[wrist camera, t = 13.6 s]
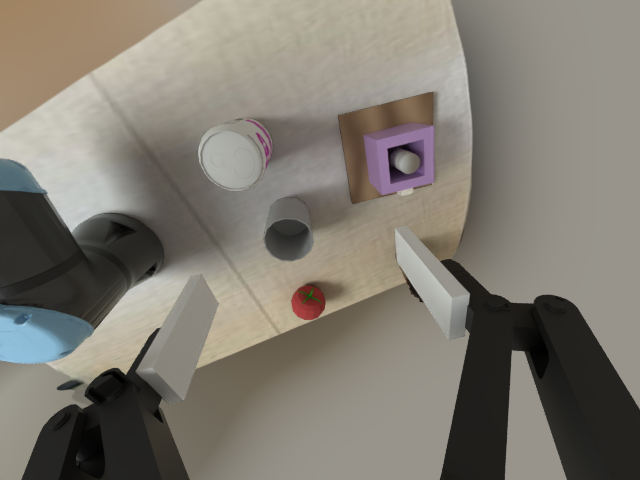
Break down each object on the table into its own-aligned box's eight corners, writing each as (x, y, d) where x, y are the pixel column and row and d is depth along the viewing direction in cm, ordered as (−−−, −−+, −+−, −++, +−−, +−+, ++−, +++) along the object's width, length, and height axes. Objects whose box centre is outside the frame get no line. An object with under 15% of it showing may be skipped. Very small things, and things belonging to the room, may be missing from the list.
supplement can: (274, 121, 41) (266, 130, 28) (271, 170, 45) (263, 198, 32) (223, 113, 40) (191, 119, 27) (225, 165, 44) (197, 191, 31)
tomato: (309, 332, 55) (315, 312, 50) (282, 312, 57) (286, 291, 53) (328, 309, 60) (335, 290, 56) (303, 292, 63) (308, 272, 58)
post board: (351, 201, 50) (364, 223, 41) (337, 115, 42) (350, 118, 33) (429, 183, 49) (459, 200, 41) (429, 92, 42) (467, 89, 33)
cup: (317, 222, 51) (322, 246, 43) (284, 241, 53) (283, 269, 44) (295, 189, 47) (295, 208, 39) (260, 210, 49) (253, 234, 40)
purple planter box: (363, 134, 43) (376, 140, 36) (411, 122, 42) (434, 125, 35) (370, 187, 47) (382, 202, 40) (413, 177, 47) (434, 189, 40)
